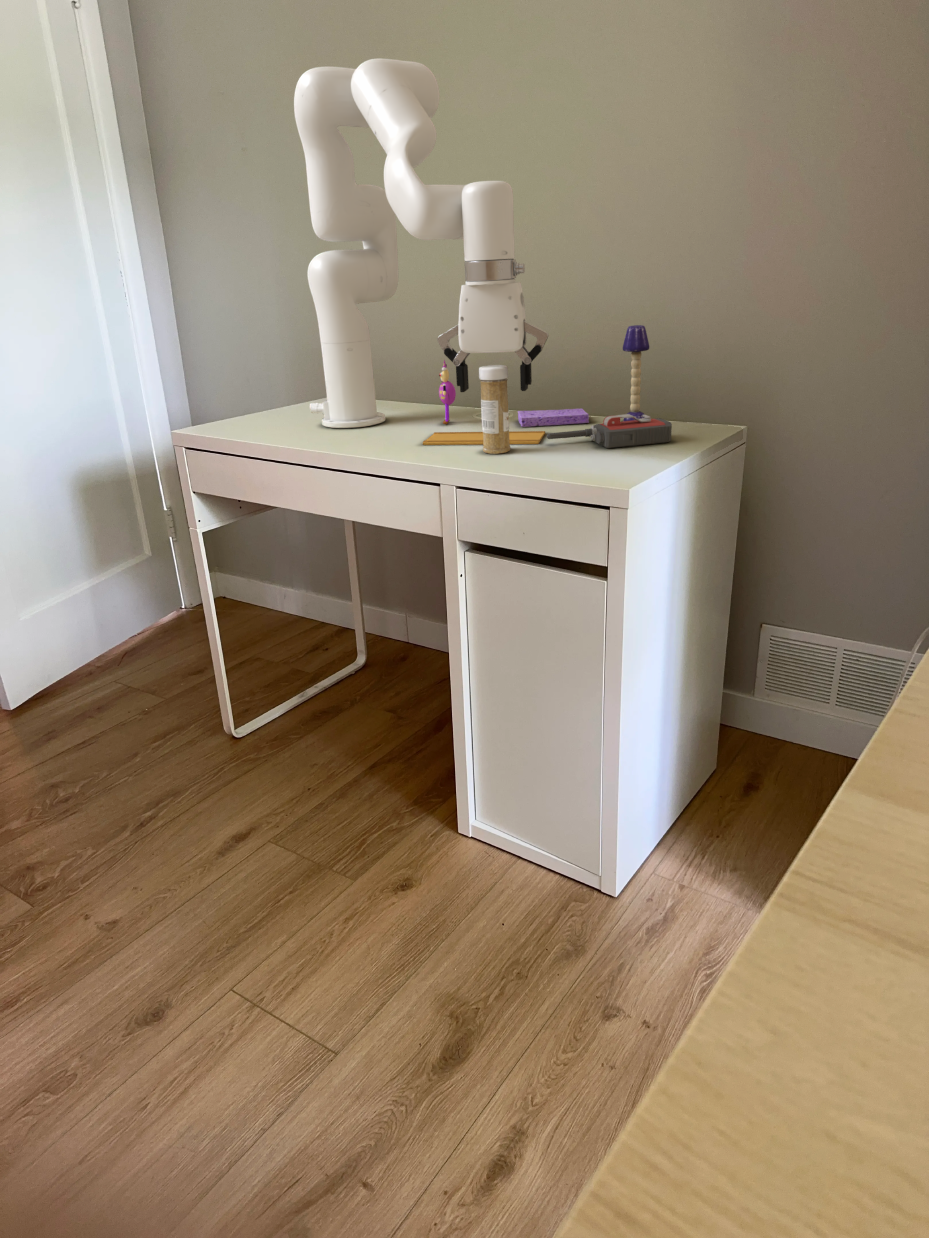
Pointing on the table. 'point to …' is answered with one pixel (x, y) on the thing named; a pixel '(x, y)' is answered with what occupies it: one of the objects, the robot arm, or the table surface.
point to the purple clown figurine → (446, 391)
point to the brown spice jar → (494, 408)
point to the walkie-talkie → (624, 432)
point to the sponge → (552, 417)
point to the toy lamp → (635, 365)
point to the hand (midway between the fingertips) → (494, 390)
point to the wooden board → (481, 438)
